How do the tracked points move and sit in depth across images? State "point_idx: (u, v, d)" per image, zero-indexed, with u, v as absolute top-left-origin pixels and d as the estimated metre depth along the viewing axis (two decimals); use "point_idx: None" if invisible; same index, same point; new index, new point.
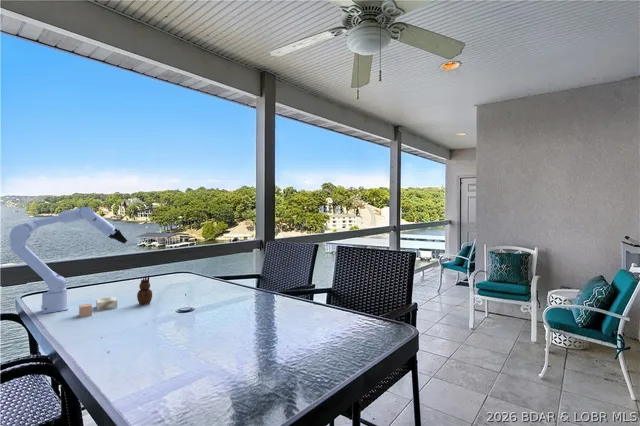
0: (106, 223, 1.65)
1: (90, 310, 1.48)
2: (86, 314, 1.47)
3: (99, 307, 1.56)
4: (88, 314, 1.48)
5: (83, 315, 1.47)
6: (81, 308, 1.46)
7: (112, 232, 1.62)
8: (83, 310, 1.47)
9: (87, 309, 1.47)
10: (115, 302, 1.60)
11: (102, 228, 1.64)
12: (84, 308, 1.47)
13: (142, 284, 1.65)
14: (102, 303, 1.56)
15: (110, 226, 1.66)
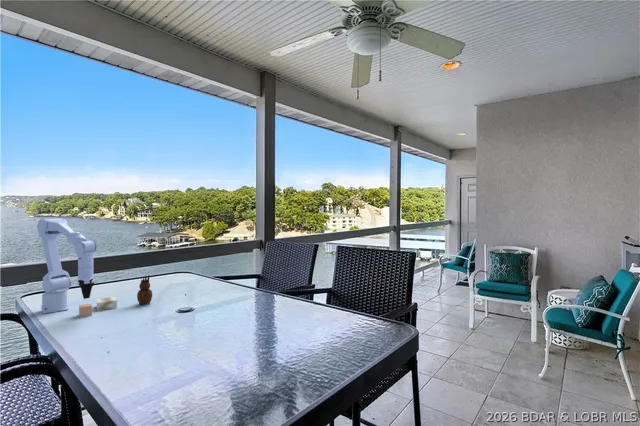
0: (90, 269, 1.48)
1: (90, 310, 1.48)
2: (86, 314, 1.47)
3: (99, 307, 1.56)
4: (88, 314, 1.48)
5: (83, 315, 1.47)
6: (81, 308, 1.46)
7: (86, 281, 1.43)
8: (83, 310, 1.47)
9: (87, 309, 1.47)
10: (115, 302, 1.59)
11: (82, 270, 1.46)
12: (84, 308, 1.47)
13: (142, 284, 1.65)
14: (102, 303, 1.56)
15: (90, 274, 1.48)
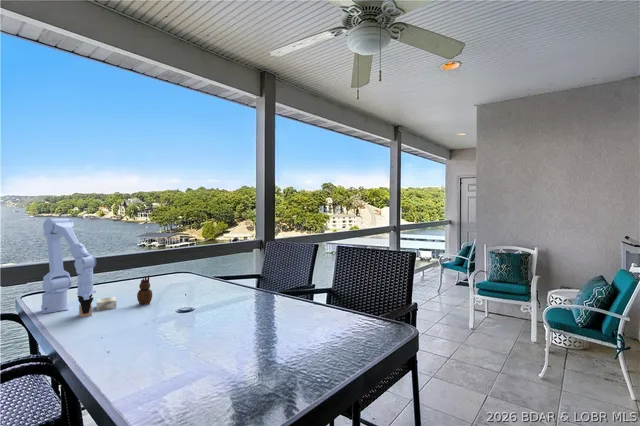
0: (90, 284, 1.48)
1: (90, 310, 1.48)
2: (86, 314, 1.47)
3: (98, 307, 1.56)
4: (88, 314, 1.48)
5: (83, 315, 1.47)
6: (81, 308, 1.46)
7: (85, 297, 1.43)
8: None
9: None
10: (114, 302, 1.59)
11: (82, 286, 1.46)
12: None
13: (142, 284, 1.65)
14: (101, 303, 1.56)
15: (90, 289, 1.48)
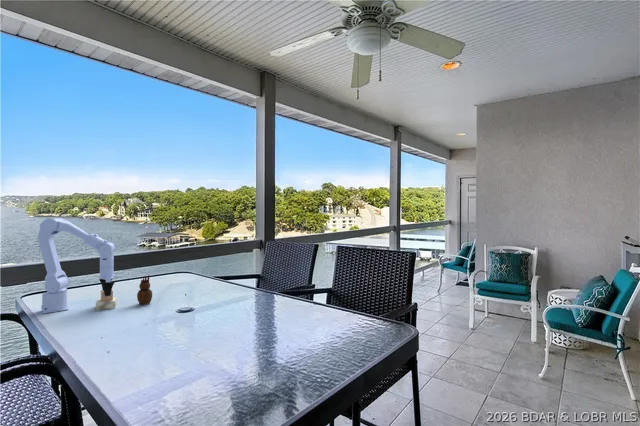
0: (111, 268, 1.60)
1: (111, 295, 1.60)
2: (108, 298, 1.59)
3: (97, 307, 1.56)
4: (109, 298, 1.60)
5: (105, 299, 1.59)
6: (103, 293, 1.58)
7: (108, 280, 1.55)
8: None
9: None
10: (113, 303, 1.59)
11: (104, 270, 1.58)
12: None
13: (142, 284, 1.65)
14: (100, 303, 1.56)
15: (111, 273, 1.60)
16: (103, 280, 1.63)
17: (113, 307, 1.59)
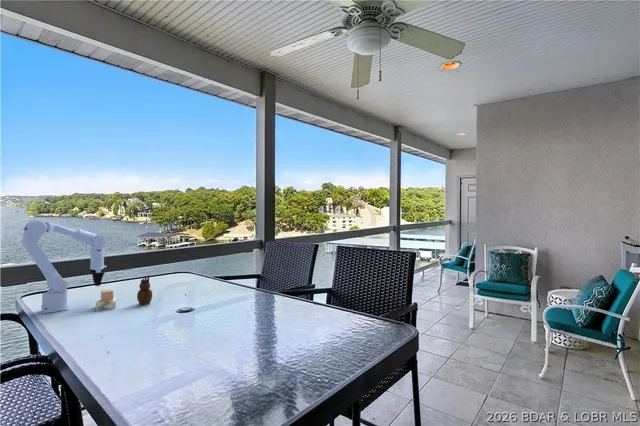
0: (101, 260, 1.67)
1: (112, 295, 1.60)
2: (108, 298, 1.59)
3: (97, 307, 1.55)
4: (110, 298, 1.60)
5: (105, 299, 1.58)
6: (104, 293, 1.58)
7: (98, 270, 1.62)
8: (105, 295, 1.58)
9: (109, 293, 1.59)
10: (113, 303, 1.58)
11: (94, 261, 1.65)
12: (106, 293, 1.59)
13: (142, 284, 1.65)
14: (100, 303, 1.56)
15: (101, 264, 1.67)
16: (94, 271, 1.70)
17: (113, 307, 1.58)
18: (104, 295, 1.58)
